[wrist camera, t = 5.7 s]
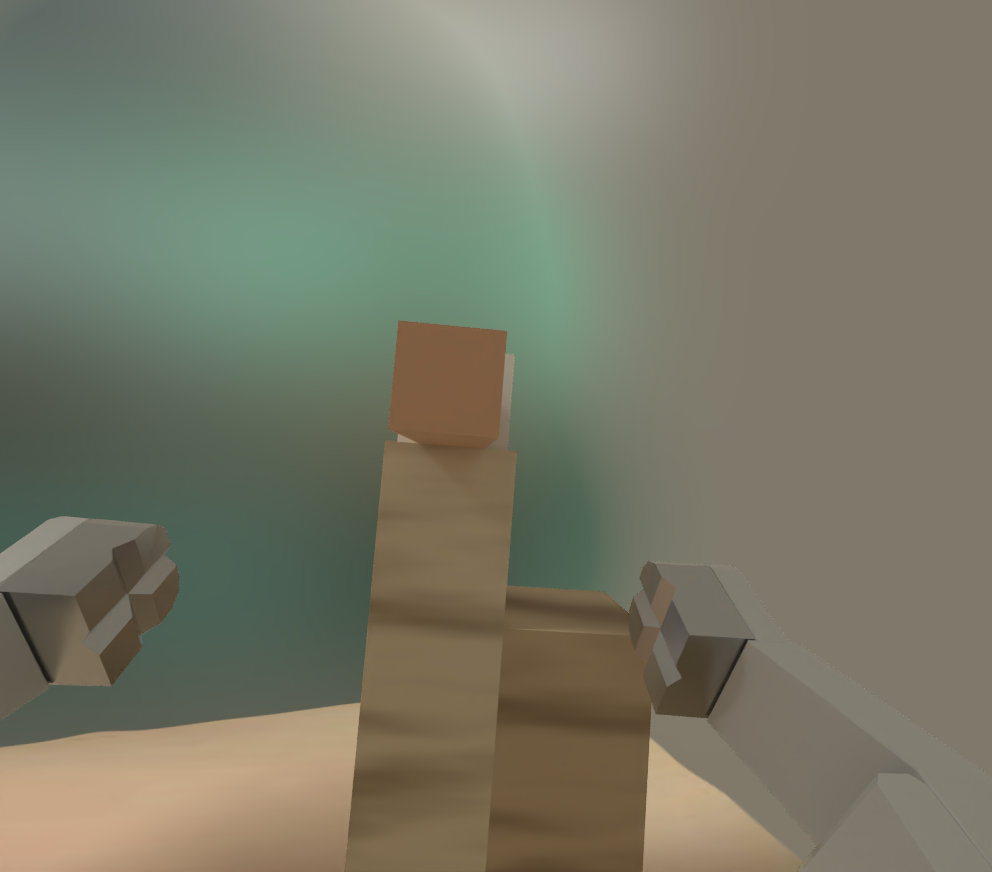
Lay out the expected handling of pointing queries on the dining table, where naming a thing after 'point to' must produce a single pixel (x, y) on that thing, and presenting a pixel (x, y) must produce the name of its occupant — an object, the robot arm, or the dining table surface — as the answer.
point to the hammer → (451, 386)
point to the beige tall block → (489, 692)
